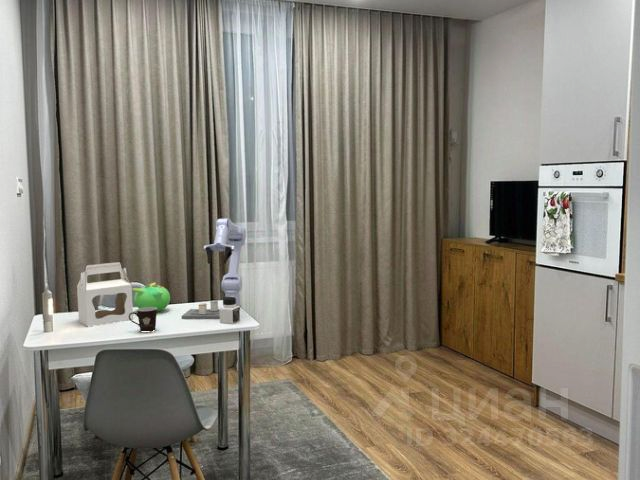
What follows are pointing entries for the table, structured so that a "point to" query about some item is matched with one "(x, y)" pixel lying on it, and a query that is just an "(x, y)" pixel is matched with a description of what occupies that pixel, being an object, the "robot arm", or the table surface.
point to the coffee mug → (146, 318)
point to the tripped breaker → (202, 309)
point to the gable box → (104, 288)
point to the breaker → (214, 305)
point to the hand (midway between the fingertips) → (216, 262)
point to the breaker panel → (195, 314)
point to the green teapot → (152, 297)
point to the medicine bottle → (229, 311)
